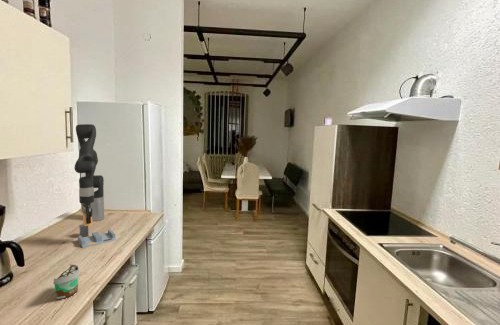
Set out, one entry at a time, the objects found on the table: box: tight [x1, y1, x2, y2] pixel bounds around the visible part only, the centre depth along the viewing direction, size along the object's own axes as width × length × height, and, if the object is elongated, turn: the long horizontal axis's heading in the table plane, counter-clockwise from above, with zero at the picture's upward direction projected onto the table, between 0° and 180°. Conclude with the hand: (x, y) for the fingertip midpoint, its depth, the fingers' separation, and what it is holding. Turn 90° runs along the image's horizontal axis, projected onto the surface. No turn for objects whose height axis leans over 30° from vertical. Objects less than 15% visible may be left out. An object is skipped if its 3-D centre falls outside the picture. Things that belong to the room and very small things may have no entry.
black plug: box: [79, 224, 90, 238], centre depth 171 cm, size 4×4×7 cm
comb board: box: [77, 228, 117, 249], centre depth 165 cm, size 13×18×4 cm
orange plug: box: [82, 212, 94, 227], centre depth 160 cm, size 4×4×7 cm
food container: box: [53, 264, 81, 301], centre depth 113 cm, size 12×6×10 cm, turn 5°
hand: (87, 222), depth 161 cm, fingers closed on orange plug, 4 cm apart
